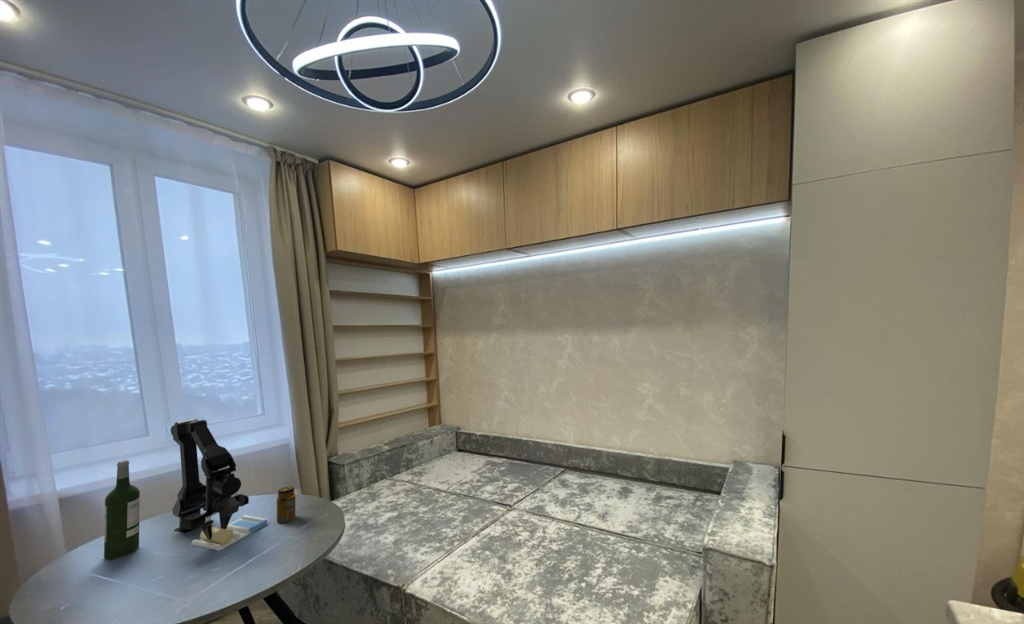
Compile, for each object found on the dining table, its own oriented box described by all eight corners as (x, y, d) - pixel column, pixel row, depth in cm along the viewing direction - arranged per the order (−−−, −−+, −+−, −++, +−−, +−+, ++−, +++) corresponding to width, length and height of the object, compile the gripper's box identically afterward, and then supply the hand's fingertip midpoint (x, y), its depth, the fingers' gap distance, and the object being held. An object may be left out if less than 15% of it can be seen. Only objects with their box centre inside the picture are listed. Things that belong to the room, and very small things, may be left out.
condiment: (295, 514, 143) (295, 483, 143) (299, 522, 136) (298, 490, 137) (273, 520, 138) (273, 488, 138) (276, 530, 131) (275, 496, 132)
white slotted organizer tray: (190, 545, 123) (190, 539, 123) (242, 518, 140) (242, 513, 140) (219, 551, 119) (219, 545, 119) (269, 523, 136) (269, 518, 136)
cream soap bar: (200, 542, 124) (200, 530, 125) (212, 535, 128) (212, 523, 128) (220, 546, 121) (220, 534, 122) (233, 539, 125) (233, 527, 125)
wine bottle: (139, 552, 120) (140, 460, 122) (103, 563, 115) (104, 467, 116) (138, 542, 126) (139, 455, 127) (104, 553, 120) (106, 461, 121)
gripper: (203, 505, 114) (202, 556, 114) (260, 481, 132) (260, 524, 131) (179, 501, 118) (178, 550, 117) (237, 478, 135) (237, 520, 135)
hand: (216, 536), depth 125 cm, fingers closed on cream soap bar, 4 cm apart
